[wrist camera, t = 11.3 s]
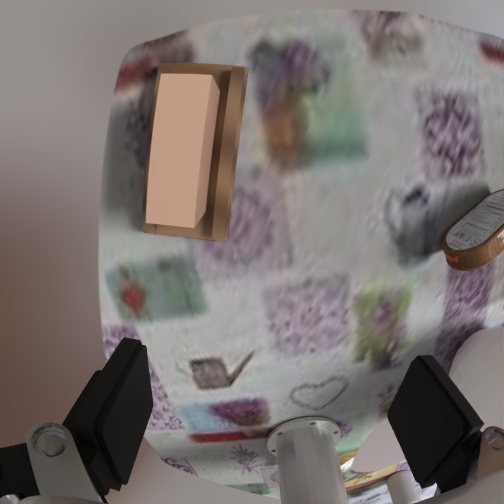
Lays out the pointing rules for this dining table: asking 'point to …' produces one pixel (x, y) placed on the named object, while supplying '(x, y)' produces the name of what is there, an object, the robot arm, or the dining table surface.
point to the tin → (476, 235)
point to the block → (181, 149)
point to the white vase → (482, 374)
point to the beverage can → (402, 488)
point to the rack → (223, 155)
